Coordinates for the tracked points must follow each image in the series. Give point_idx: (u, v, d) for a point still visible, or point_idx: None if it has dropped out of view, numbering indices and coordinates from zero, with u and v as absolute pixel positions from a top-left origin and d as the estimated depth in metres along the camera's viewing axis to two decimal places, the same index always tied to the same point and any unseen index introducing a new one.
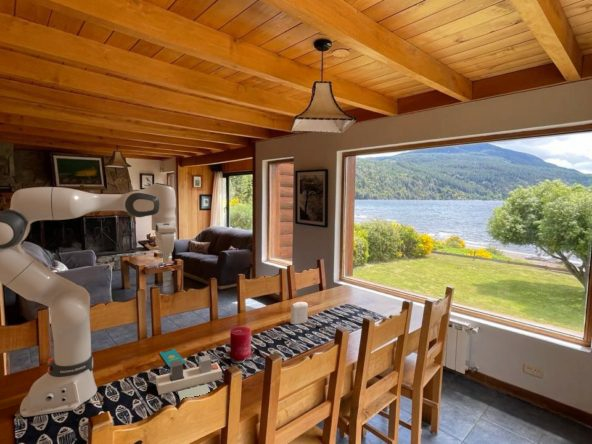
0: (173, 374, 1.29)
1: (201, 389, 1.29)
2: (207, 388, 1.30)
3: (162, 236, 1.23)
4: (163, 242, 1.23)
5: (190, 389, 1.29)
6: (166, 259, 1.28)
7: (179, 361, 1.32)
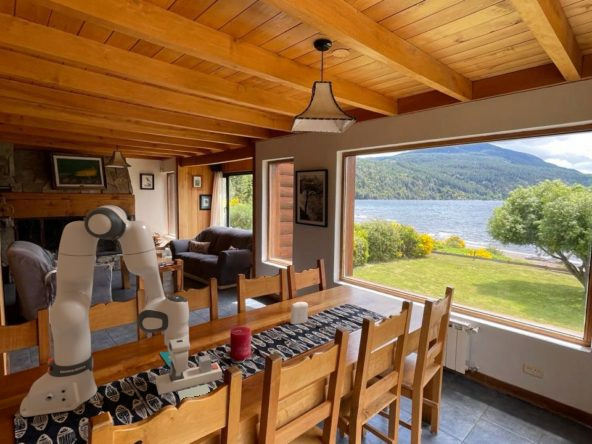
0: (173, 374, 1.29)
1: (201, 389, 1.29)
2: (207, 388, 1.30)
3: (176, 356, 1.21)
4: (177, 363, 1.21)
5: (190, 389, 1.29)
6: None
7: None
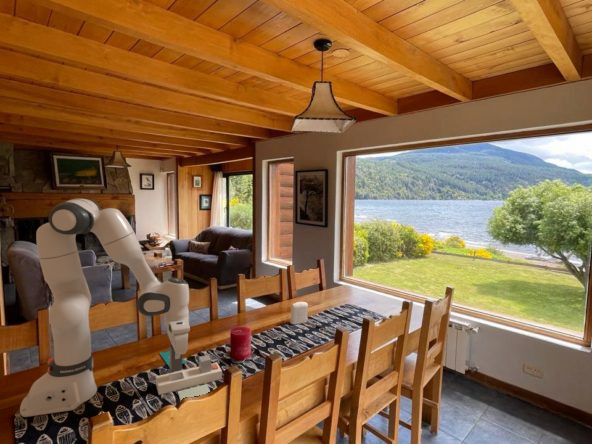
0: (172, 357, 1.28)
1: (201, 389, 1.29)
2: (207, 388, 1.30)
3: (176, 338, 1.20)
4: (176, 344, 1.20)
5: (190, 389, 1.29)
6: (178, 355, 1.27)
7: None
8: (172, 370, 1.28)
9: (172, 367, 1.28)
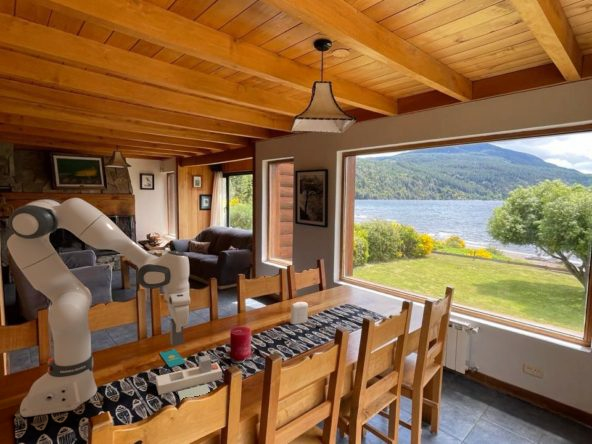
0: (173, 330, 1.27)
1: (201, 389, 1.29)
2: (207, 388, 1.30)
3: (176, 310, 1.19)
4: (177, 316, 1.19)
5: (190, 389, 1.29)
6: (179, 328, 1.26)
7: None
8: (173, 344, 1.27)
9: (173, 341, 1.27)
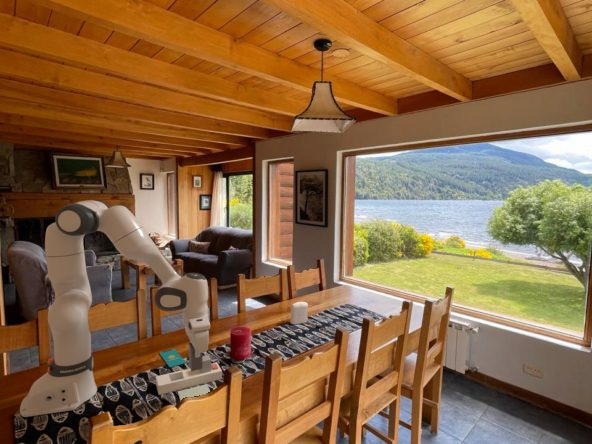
0: (192, 355, 1.23)
1: (201, 389, 1.29)
2: (207, 388, 1.30)
3: (196, 336, 1.15)
4: (197, 342, 1.15)
5: (190, 389, 1.29)
6: (198, 353, 1.22)
7: None
8: (192, 369, 1.23)
9: (192, 366, 1.23)
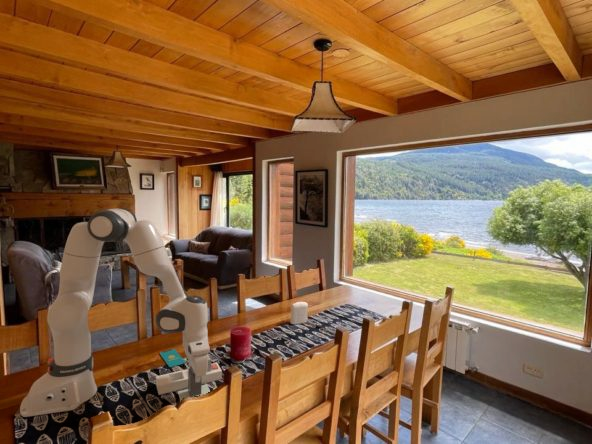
0: (191, 381, 1.24)
1: (201, 389, 1.29)
2: (207, 388, 1.30)
3: (196, 360, 1.16)
4: (197, 366, 1.16)
5: None
6: (198, 378, 1.22)
7: None
8: (191, 395, 1.24)
9: (191, 392, 1.24)
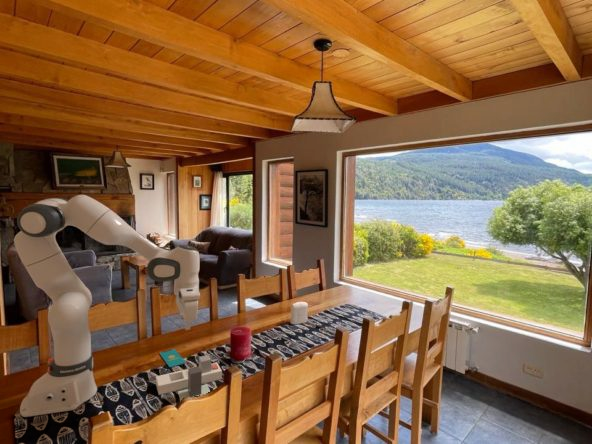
0: (191, 381, 1.24)
1: (201, 389, 1.29)
2: (207, 388, 1.30)
3: (185, 304, 1.18)
4: (186, 311, 1.18)
5: None
6: (188, 326, 1.23)
7: (197, 368, 1.27)
8: (191, 395, 1.24)
9: (191, 392, 1.24)
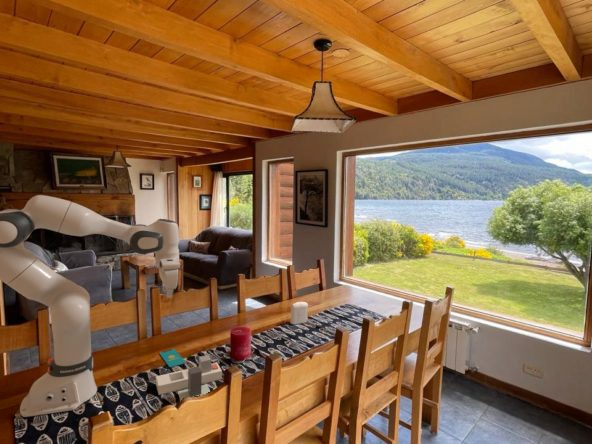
0: (191, 381, 1.24)
1: (201, 389, 1.29)
2: (207, 388, 1.30)
3: (166, 273, 1.25)
4: (167, 279, 1.25)
5: None
6: (170, 294, 1.30)
7: (197, 368, 1.27)
8: (191, 395, 1.24)
9: (191, 392, 1.24)
